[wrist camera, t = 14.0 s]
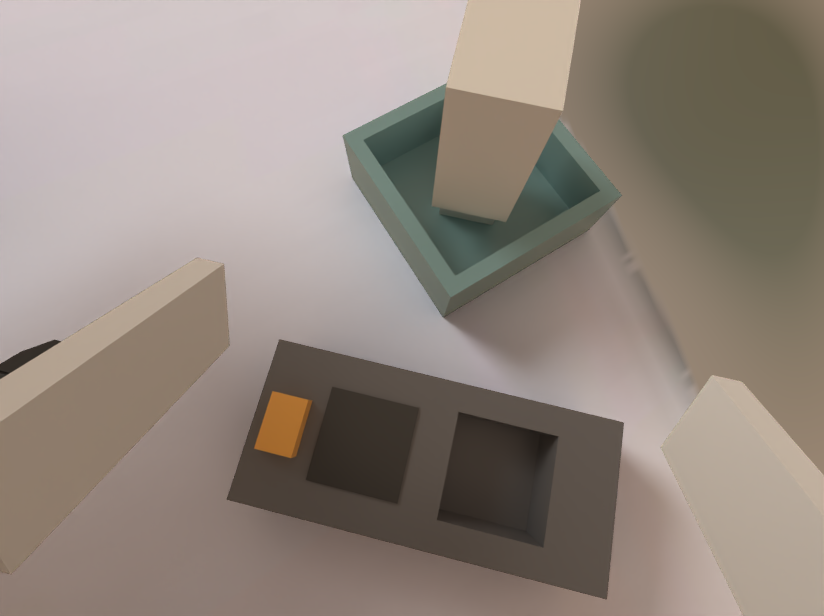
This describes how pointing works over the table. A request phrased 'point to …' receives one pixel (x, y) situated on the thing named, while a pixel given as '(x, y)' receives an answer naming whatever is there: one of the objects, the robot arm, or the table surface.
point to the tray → (458, 238)
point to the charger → (501, 103)
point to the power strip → (435, 466)
